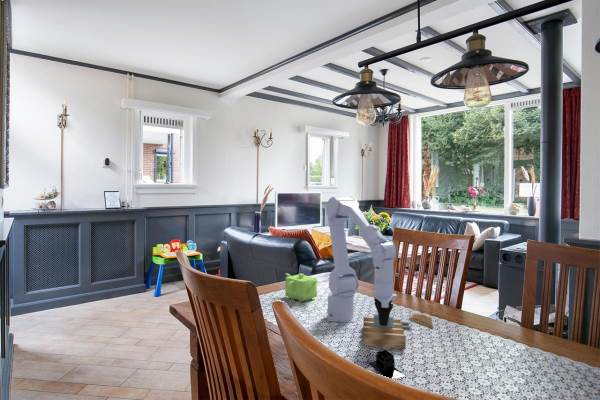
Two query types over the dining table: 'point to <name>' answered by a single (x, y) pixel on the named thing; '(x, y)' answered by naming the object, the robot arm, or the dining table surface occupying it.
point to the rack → (383, 334)
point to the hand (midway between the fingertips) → (383, 323)
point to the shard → (422, 319)
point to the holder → (405, 325)
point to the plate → (377, 324)
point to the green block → (301, 287)
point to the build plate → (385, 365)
